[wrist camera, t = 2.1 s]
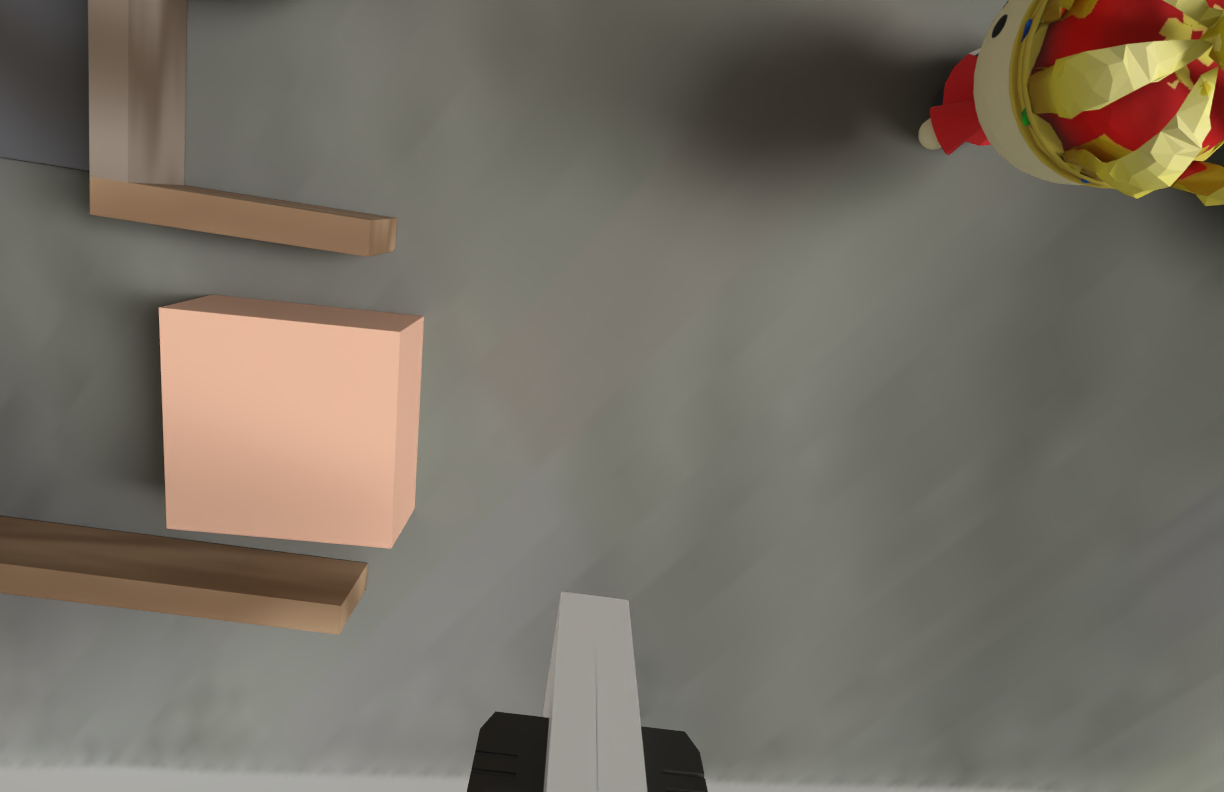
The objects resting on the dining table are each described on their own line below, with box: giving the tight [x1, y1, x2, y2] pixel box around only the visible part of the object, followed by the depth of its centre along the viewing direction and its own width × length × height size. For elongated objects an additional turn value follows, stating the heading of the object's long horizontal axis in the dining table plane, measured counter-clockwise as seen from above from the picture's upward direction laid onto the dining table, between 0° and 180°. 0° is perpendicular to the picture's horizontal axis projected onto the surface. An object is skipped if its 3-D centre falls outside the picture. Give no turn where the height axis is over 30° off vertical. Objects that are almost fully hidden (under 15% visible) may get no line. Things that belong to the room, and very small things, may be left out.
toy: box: [918, 0, 1224, 206], centre depth 21 cm, size 7×7×15 cm
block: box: [159, 295, 424, 548], centre depth 29 cm, size 8×8×4 cm
